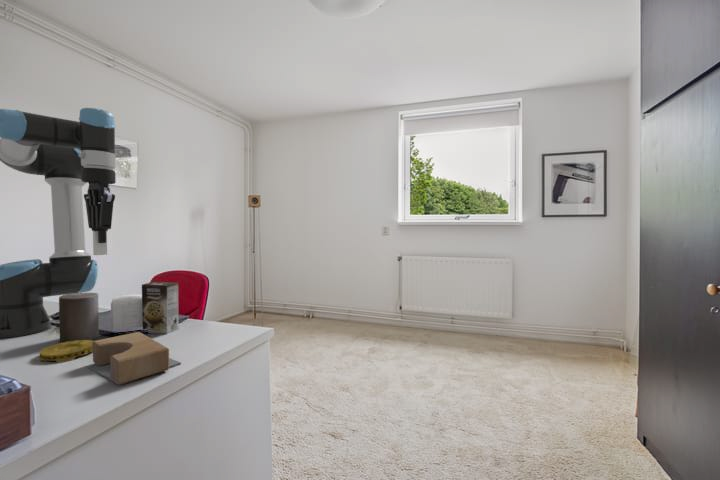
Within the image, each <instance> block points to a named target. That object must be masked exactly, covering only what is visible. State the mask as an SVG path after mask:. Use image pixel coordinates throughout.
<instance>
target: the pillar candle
mask: <svg viewBox="0 0 720 480" xmlns="http://www.w3.org/2000/svg"><path fill="white" fill-rule="evenodd" d="M99 313H100V312H99V293H98V292H89V291H88V292H82V293H79V291H78V293H74V294H66V295H59V298H58V314H59V315H58V318H59V320H58V322H59V326H58V327H59V343H64V342H69V341H76V340H92V341H93V340H94V339H97V338H99V336H100V334H99V333H100V330H99V329H100V327H99V326H100V322H99V321H100V319H99V316H100V315H99Z"/></svg>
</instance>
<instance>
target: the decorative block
mask: <svg viewBox="0 0 720 480" xmlns="http://www.w3.org/2000/svg"><path fill="white" fill-rule="evenodd" d="M93 341H94V342H93V343H92V347H93V352H92V362H93V363H94V364H96V365H97V366H104V365H109V364H111V379H112V380H113V381H114V382H113V381H112V382H113V383H115V384H117V385H118V386H120V385H119V384H122V385H124V384H123V383H125V384H127V383H126V382H128V383H130V382H129V381H131V382H132V381H133V380H134V381H136V379H137V380H139V379H142V378H146V377H149V376H153V375H156V374H160V373H162V372H165V371H166V372H167V371H168V370H169V369H170V368H169V358H170V348H168V347H167V346H165V345H163V344H161V343H160V342H158V341H156V340H154V339H152V337H149V336H147V334H144V333H143V332H141V331H134V332H130V333H127V334H121V335H118V336H117V335H116V336H113V337H107V338H103V339H97V340H93Z"/></svg>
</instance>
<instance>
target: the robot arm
mask: <svg viewBox="0 0 720 480" xmlns="http://www.w3.org/2000/svg"><path fill="white" fill-rule="evenodd" d="M115 130H116V125H115V117H114V114H113V113H111V112H109V110H108V111H107V110H104V109H99V108H95V107H83V108H81V109H79V117H78V121H77V120H72V119H65V118H59V117H53V116H48V115H41V114H36V113H31V112H28V111H27V112H26V111H21V110H19V109H7V108H0V162H1V163H2V164H3V165H5V166H7V167H9V168H11V169H12V170H15V171H18V172H21V173H24V174H28V175H37V176H44V182H46V183H47V184H49V186H50V189H51V190H50V191H51V192H50V193H51V208H52V209H51V210H52V226H53V227H52V228H53V230H52V231H53V245H54V246H53V247H54V253H53V254H52V255H50V256H49V257H48V261H49V262H44V263H43V261H42V259H39V258H36V259H35V258H34V259H27V260H18V261H12V262H6V263H2V264H0V339H6V338H16V337H22V336H27V335H28V336H29V335H32V334H37V333H40V332H43V331H46V330H49V329H50V328H51V327H52V321H51V319H50V316H49V315H48V312H47V310H46V309H45V306H44V298H47V297H55V296H62V295H67V294H74V293H78V291H79V293H86V292H88V293H89V292H92V290H93V289H94V288H95V286H96V283H97V278H98V273H99V271H98V270H99V269H98V262H97V260H95V259H92V255H91V254H90V253H88V252H87V250H86V237H85V235H86V234H85V221H84V206H83V205H84V204H83V199H84V202H85V210H86V216H87V217H86V218H87V225H88V229H91V232H92V248H93V250H92V251H93V252H92V253H93V255H94V256H106V255H108V237H107V236H108V234H107V233H108V230H111V229H112V222H113V211H114V202H115V199H116V195H115V194H113V193H111V188H110V185H114V184H115V183H116V171H115V169H116V166H117V165H116V137H115V136H116V133H115V132H116V131H115ZM87 183H88V189H87V193H84V194H83V189H82V188H83V186H85V185H87Z"/></svg>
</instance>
